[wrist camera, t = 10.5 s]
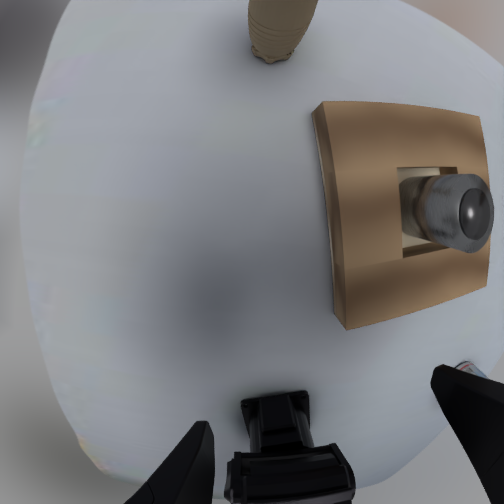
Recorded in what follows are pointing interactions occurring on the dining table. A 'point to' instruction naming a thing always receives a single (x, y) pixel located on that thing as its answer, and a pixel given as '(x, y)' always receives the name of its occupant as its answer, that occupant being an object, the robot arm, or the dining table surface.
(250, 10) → the handle
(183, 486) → the robot arm
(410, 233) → the socket
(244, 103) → the dining table surface
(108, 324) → the dining table surface
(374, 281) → the socket board
